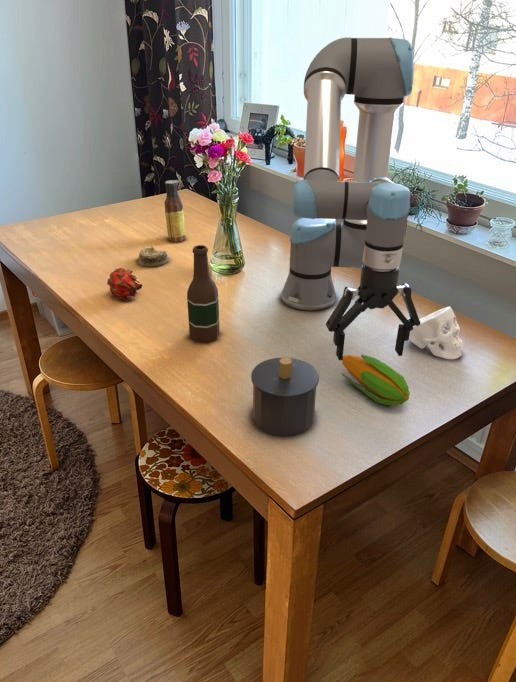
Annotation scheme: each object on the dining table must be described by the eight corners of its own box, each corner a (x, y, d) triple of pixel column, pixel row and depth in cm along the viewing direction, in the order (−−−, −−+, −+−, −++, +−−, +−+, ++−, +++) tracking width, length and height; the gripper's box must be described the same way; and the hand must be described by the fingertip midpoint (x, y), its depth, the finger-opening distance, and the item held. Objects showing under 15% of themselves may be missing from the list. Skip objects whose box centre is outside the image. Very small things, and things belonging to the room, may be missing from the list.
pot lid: (247, 364, 123) (246, 345, 120) (310, 359, 124) (311, 340, 122) (256, 403, 112) (256, 383, 109) (325, 397, 113) (327, 377, 111)
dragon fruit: (117, 291, 175) (137, 311, 169) (94, 283, 168) (114, 303, 162) (131, 267, 173) (152, 286, 167) (109, 257, 166) (130, 277, 160)
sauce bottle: (189, 238, 206) (185, 180, 195) (178, 244, 202) (174, 185, 190) (175, 234, 209) (170, 177, 198) (163, 240, 205) (158, 182, 193)
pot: (249, 401, 128) (249, 363, 122) (306, 397, 129) (308, 359, 124) (258, 439, 118) (258, 399, 112) (319, 433, 119) (322, 393, 113)
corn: (397, 388, 119) (331, 346, 132) (390, 418, 123) (327, 374, 136) (421, 378, 123) (355, 338, 136) (414, 407, 127) (350, 366, 140)
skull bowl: (456, 364, 138) (439, 315, 135) (408, 370, 149) (392, 326, 147) (478, 347, 144) (462, 300, 142) (431, 355, 155) (415, 312, 153)
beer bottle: (225, 333, 152) (223, 244, 138) (208, 346, 147) (204, 256, 133) (201, 325, 155) (196, 238, 142) (183, 338, 150) (176, 249, 136)
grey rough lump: (156, 271, 185) (153, 255, 181) (132, 264, 189) (128, 249, 186) (175, 258, 191) (173, 242, 188) (151, 252, 195) (149, 237, 192)
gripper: (325, 275, 113) (317, 368, 125) (447, 269, 116) (429, 359, 128) (316, 260, 120) (310, 350, 132) (432, 254, 123) (416, 342, 135)
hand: (368, 355), depth 130 cm, fingers open, 13 cm apart
